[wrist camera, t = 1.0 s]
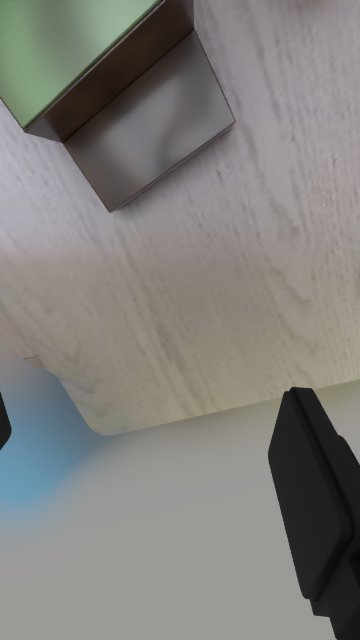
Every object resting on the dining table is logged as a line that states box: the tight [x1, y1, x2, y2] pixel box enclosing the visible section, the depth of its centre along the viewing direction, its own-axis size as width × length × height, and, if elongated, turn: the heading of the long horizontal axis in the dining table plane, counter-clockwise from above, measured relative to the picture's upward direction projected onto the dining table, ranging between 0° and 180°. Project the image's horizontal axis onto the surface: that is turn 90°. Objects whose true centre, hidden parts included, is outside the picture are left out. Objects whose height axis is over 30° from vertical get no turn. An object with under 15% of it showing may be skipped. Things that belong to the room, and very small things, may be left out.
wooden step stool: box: [0, 0, 236, 212], centre depth 19 cm, size 14×21×16 cm, turn 32°
